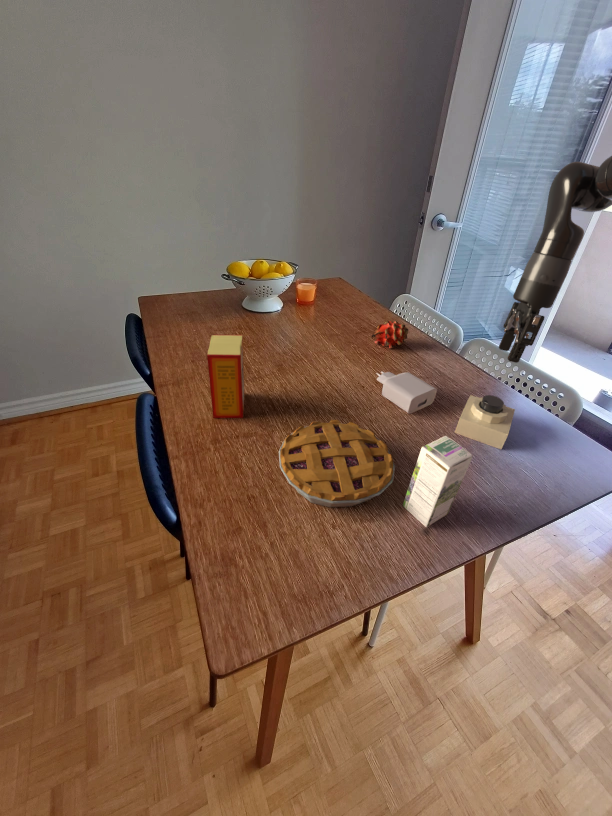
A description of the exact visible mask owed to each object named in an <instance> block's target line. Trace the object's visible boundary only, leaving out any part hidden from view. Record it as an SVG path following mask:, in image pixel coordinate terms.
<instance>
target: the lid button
mask: <svg viewBox="0 0 612 816" xmlns="http://www.w3.org/2000/svg"><path fill="white" fill-rule="evenodd" d="M482 398H483V399H482V401H481V404H480V408H481V409H483V410H484V411H486V412H489V413H492V414H499V413H500V412H501V410H502V408H503V405H505V402H504V400H503V399H502V398H500V397H498V396H495V395H491V394H488V395H487V394H486V395H484V396H482Z"/></svg>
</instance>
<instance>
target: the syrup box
mask: <svg viewBox="0 0 612 816" xmlns="http://www.w3.org/2000/svg"><path fill="white" fill-rule="evenodd" d="M473 458H474V455H473V454H471V452H469V451H468V450H467V449H466V448H464V447H463V446H462V445H461V444H459V442H457V441H455V440H454V439H452V438H451V437H449V436H448V435H443V436H442V437H440V438H438V439H435V440H434V441H432V442H429V443H427V444H426V445H423V446H421V449H420V452H419V454H418V458H417V461H416V465H415V467H414V469H413V473H412V475H411V479H410V482H409V485H408V488H407V491H406V494H405V497H404V500H403V502H402V507H403V508H404V509H405V510H406V511H407V512H409V514H411V515H412V516H413V517H414V518H415V519H416V520H417V521H418V522H420V524H422V525H423V526H424V528H429V527H430V526H432V525H433V524H434V523H437V522H438V521H440V520H441V519H443V518H444V517H446V516H448V514H449V512H450V510H451V508H452V506H453V504H454V501H455V498H456V497H457V494H458V492H459V490H460V488H461V485H462V483H463V482H464V479H465V476H466V474H467V472H468V469H469V468H470V465H471V462H472V461H473Z"/></svg>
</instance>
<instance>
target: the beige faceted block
mask: <svg viewBox="0 0 612 816" xmlns="http://www.w3.org/2000/svg"><path fill="white" fill-rule="evenodd" d="M482 399H483V396H481V397H479V396H475V395H472V394H470V395H469V397H468V399H467V401H466V404H465V405H464V408H463V410H462V412H461V414H460V417H459V419H458V422H457V424H456V427H455V429H454V434H456V435H459V436H462V437H465V438H467V439H471V440H473V441H476V442H479V443H481V444H484V445H487V446H490V447H492V448H496V449H498V450H502V449H503V448H504V445H505V444H506V441H507V438H508V436H509V433H510V430H511V426H512V422H513V419H514V416H515V413H516V409H515V408H514V407H513V408H512V407H510V406H506V405H505V404H504V405H503V408H502V410H501V412H500V413H499V414H492V413H489V412H486V411H484V410H483V409H481V408H480V404H481V401H482Z"/></svg>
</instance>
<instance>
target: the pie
mask: <svg viewBox="0 0 612 816" xmlns="http://www.w3.org/2000/svg"><path fill="white" fill-rule="evenodd" d="M278 458H279V459H278V461H279V469H280V470H281V472H282V473H283V475H284V477H285V478H286V480H287V482H288V484H289V485H290V486H292V487H293V488H294V489H295V491H296V492H297V493H298V494H299V495H301V496H302V497H303V498H305V499H306V500H307V501H309V503H311V504H315V505H319V506H324V507H328V508H343V507H345V508H347V507H354V506H357V505H359V504H362V503H364V502H367V501H371V500H372V499H374V498H375V497H377V496H380V495H381V494H382V493H383V492H384V491H385V490H386V489H387V488H388V487H389V486H390V485H392V483H394V477H395V471H396V470H395V468H396V465H395V462H394V459H393V454H391V453H390V450H389V448H388V445H387V444H386V443H385V442H384V440H380V439H379V438H378V437H377V436H376V434H375V432H373V431H372V430H371V429H364V428H362V427H360V426H359V425H358V423H356V422H353V421H349V422H347V423H343V422H341V421H340V420H339V419H330V421H329V422H322V421H319V420H318V421H317V420H316V421H312V422H311V423H310V424H309V425H307V426H302V425H300V426H299V427H297V428H296V429H295V430H294V431H293V432H291V433H290V434H287V436H286V437H285V438H284V440H283V442H282V444H281V446H280V448H279V449H278Z"/></svg>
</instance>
